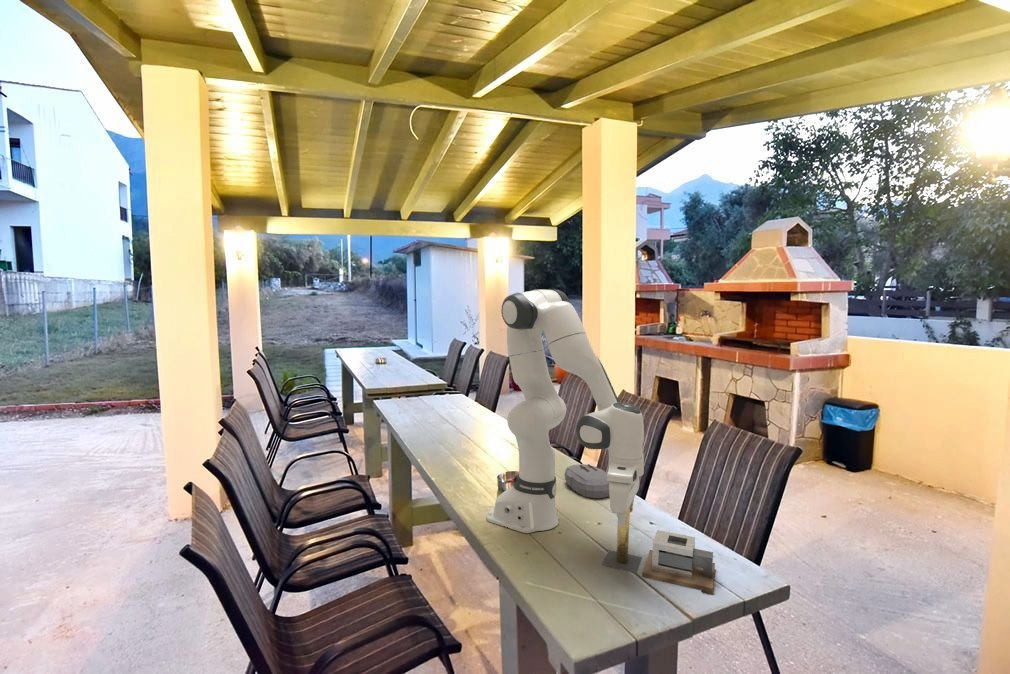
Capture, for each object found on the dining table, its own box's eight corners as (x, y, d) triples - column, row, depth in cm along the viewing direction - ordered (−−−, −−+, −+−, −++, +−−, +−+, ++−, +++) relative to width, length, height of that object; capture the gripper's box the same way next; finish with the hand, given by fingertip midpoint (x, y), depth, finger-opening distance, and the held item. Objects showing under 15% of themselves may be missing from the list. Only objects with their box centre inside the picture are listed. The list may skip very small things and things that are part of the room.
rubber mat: (601, 567, 136) (601, 565, 136) (608, 551, 144) (608, 549, 144) (636, 574, 132) (636, 573, 132) (642, 558, 140) (642, 557, 140)
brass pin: (615, 562, 137) (617, 503, 136) (617, 557, 140) (619, 499, 139) (626, 564, 136) (629, 505, 135) (628, 559, 139) (631, 501, 138)
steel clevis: (651, 569, 132) (652, 542, 132) (656, 555, 139) (657, 530, 139) (711, 582, 126) (712, 554, 126) (712, 567, 134) (713, 540, 133)
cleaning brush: (558, 483, 197) (584, 503, 178) (559, 461, 196) (584, 479, 178) (594, 478, 202) (622, 498, 183) (594, 457, 201) (623, 474, 183)
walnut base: (641, 578, 131) (642, 572, 131) (649, 555, 143) (649, 549, 142) (712, 594, 124) (713, 588, 124) (714, 568, 136) (714, 563, 136)
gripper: (622, 454, 147) (621, 502, 148) (605, 476, 128) (604, 531, 129) (645, 456, 144) (644, 505, 145) (631, 479, 125) (630, 535, 126)
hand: (625, 518), depth 137 cm, fingers open, 8 cm apart
